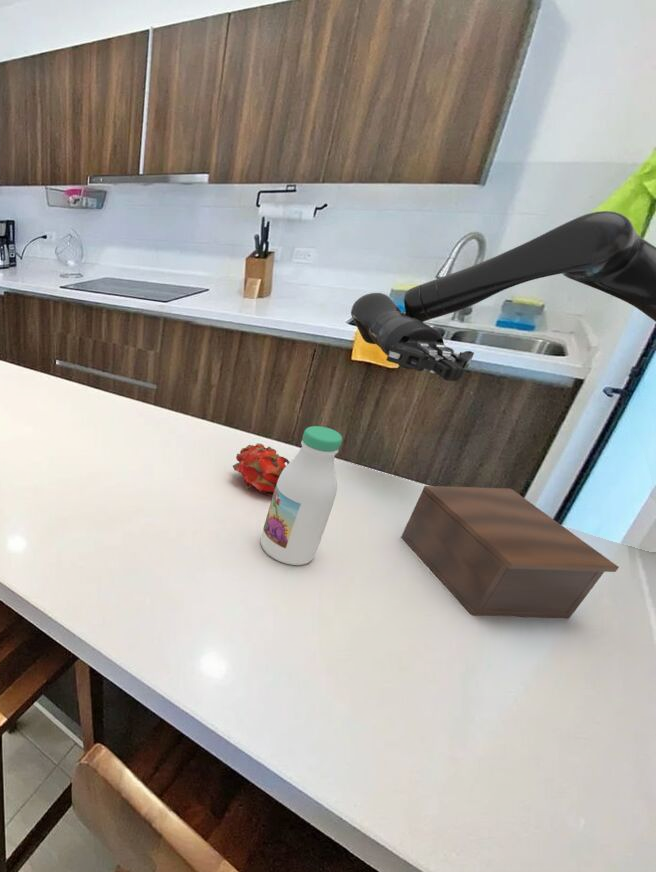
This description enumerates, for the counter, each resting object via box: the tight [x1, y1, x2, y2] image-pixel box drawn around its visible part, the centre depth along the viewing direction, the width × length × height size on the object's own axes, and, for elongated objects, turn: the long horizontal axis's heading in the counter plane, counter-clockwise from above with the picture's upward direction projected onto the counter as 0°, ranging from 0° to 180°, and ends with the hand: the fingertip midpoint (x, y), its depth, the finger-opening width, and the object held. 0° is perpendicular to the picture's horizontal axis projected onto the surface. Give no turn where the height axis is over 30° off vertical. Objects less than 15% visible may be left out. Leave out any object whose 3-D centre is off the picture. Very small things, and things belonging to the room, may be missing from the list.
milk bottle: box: [260, 425, 343, 566], centre depth 71 cm, size 8×8×20 cm
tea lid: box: [422, 485, 620, 573], centre depth 67 cm, size 17×13×1 cm
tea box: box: [400, 490, 605, 619], centre depth 70 cm, size 16×13×9 cm
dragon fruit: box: [232, 443, 291, 497], centre depth 89 cm, size 8×8×12 cm
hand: (455, 374), depth 75 cm, fingers closed
